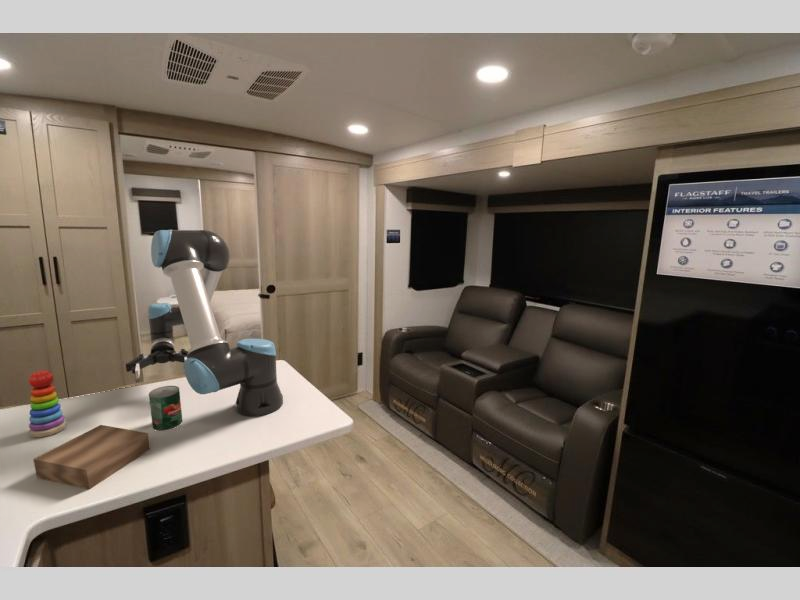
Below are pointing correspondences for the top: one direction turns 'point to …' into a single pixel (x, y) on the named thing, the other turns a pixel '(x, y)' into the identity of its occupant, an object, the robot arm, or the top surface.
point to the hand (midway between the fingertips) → (162, 370)
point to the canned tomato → (165, 408)
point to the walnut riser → (92, 456)
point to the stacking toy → (44, 406)
